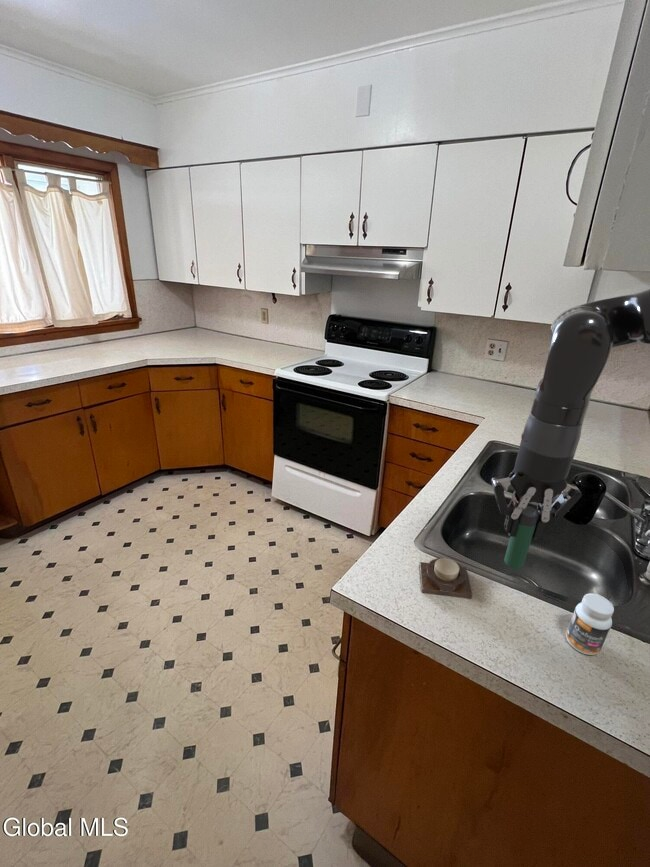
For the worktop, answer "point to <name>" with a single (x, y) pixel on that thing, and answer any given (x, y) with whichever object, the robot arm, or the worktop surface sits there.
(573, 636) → the pill bottle
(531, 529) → the cylinder
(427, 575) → the tealight candle holder
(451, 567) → the dot pad
